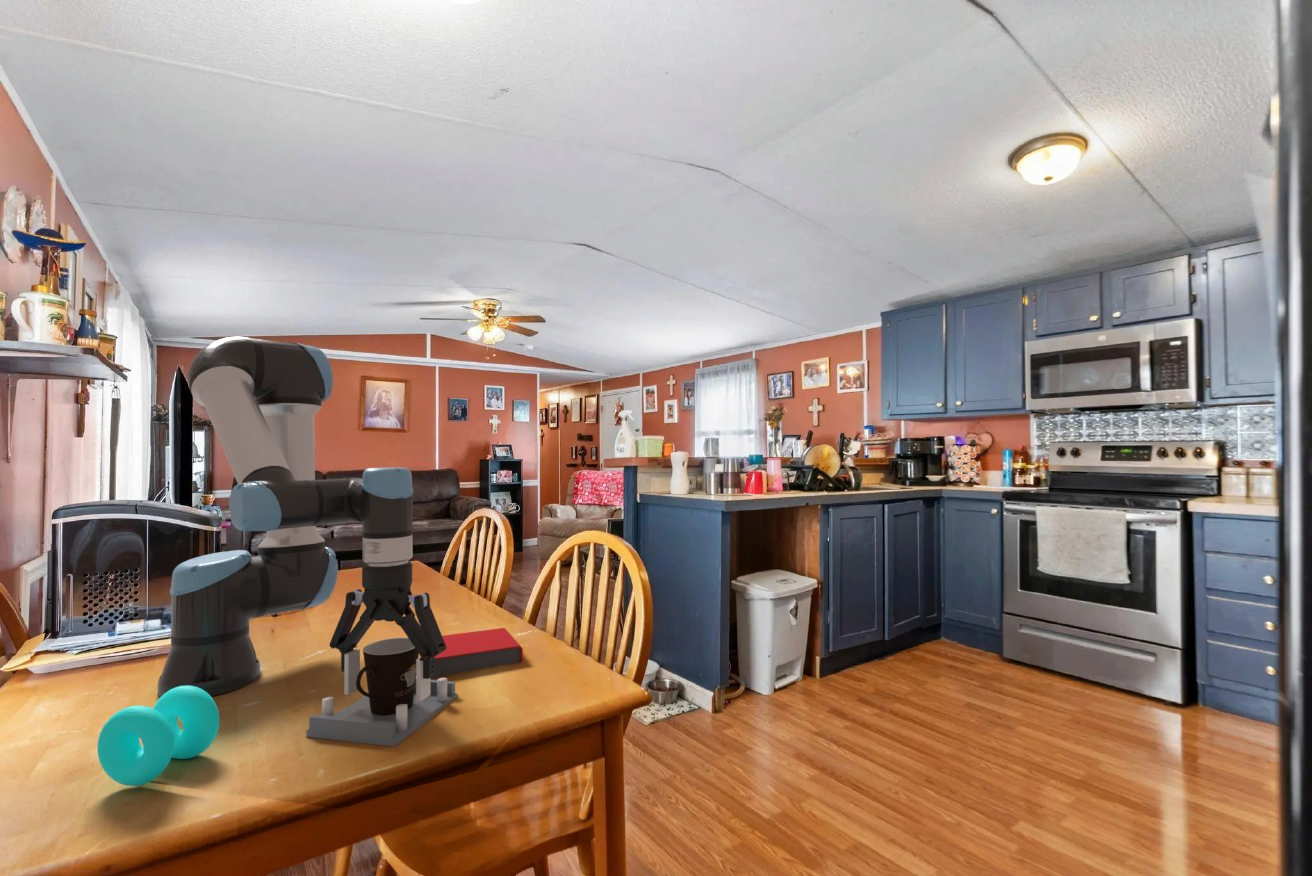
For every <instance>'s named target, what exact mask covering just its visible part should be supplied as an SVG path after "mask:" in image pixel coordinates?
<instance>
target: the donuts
mask: <svg viewBox="0 0 1312 876" xmlns="http://www.w3.org/2000/svg"><path fill="white" fill-rule="evenodd" d="M219 712H220V711H219V708H218V705H217V704H216V702H215V700H214V699H213V696H210V695H209V694H208V693H207V692H206V691H204V690H202V689H200V688H198V687H195V686H179V687H176V688H173V689H171V690H169V691H168V692H166V693H165V694H163V695H162V696H161V697H160V696H159V698H158V700H157V701H156V702H155V704H154V706H153V707H149V706H146V705H131V706H127V707H124V708H123V709H121V710H118V711H117V712H115V713H114V714H112V716H110V717H109V718H108V720H107V721H106V722H105V723H104V725H103V726H102V728H101V730H100V732H99V736H98V740H97V748H96V749H97V757H98V761H99V763H100V766H101V768H102V770H104V772H105V774H106V775H107V776H108V777H109V778H110V779H111V780H113V781H115V782H116V783H118V784H121V785H124V786H127V787H128V786H131V787H132V786H133V787H135V786H136V787H137V786H141V785H145V784H147V783H150V782H152V781H154V780H155V779H157V778H158V777H159V776H160V775H161V774H162V773H163V772H164V771H165V769H166V768H167V767H168V765H169V764H170V761H171V759H172V758H173V759H178V760H188V759H193V758H195V757H197V756H199V755H200V754H202V753H204V752H205V751H206V750H207V749H209V748H210V747H211V746H212V745H213V742H214V741H215V740H216V737H217V735H218V733H219V728H220V713H219ZM178 720H179V721H181V724H182V729H181V728H180V726H179V723H178ZM140 740H141V742H140ZM141 743H142V744H141Z"/></svg>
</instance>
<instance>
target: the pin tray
mask: <svg viewBox="0 0 1312 876" xmlns="http://www.w3.org/2000/svg"><path fill="white" fill-rule="evenodd" d="M458 696H459V694H458V693H457V692H456V681H452V680H451V681H449V680H448V678H447V677H439V678H438V679H430V696H428V697H427V698H425V699H424V700H422V701H421V702H420V701H416V682H415V690H414V699H413V705H412V707H411V708H409V709H408V710H407V704H399V705H397V706H396V714H394V715H386V716H381V715H375V714H373V713H371V709H370V701H369V697H367V696H363V697H361V698H360V699H358V700H357V701H355V702H353V703H351V704H350V705H348V706H346V707H344V708H342V709H341V710H339V711H337V712H336V713H334V712H335V711H334V704H335V703H334V702H335V701H334V698H335V697H333V696H328V697H327V696H326V697H323V698H322V700H321V714H312V715H311V716H309V717H308V719H309V721H308V722H309V723H308V725H309V726H308V728H307V729H306V732H305V734H306V735H305V736H306V738H313V739H324V740H330V741H331V740H332V741H340V742H349V743H356V744H357V743H359V744H366V745H367V744H368V745H376V746H385V747H393V748H394V747H396V746H397V745H399V744H400V743H401V742H403V741H404V740H405V739H406V738H408V737H409V736H411V734H413V733H414V732H416V731H417V730H418V729H420V728H422V726H423V725H425V724H426V723H427V722H429V720H431V719H432V718H433V717H434V716H436V715H437V714H438V713H440V712H441V710H443V709H444V708H445V707H446V706H448V705H449V704H450V703H451V702H452V701H454V700H455V699H456V698H457V697H458ZM453 699H454V700H453Z"/></svg>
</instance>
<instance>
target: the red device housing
mask: <svg viewBox="0 0 1312 876" xmlns="http://www.w3.org/2000/svg"><path fill="white" fill-rule="evenodd" d="M442 637H443V639H444V642H445V644H446V650H445V651H443V652H442V653H440V654H438V655H436V656H435V673H434V676H432V677H431V678H430V679H432V678H438V677H443V675H444V676H447V675H446V674H450V675H453V674H460V673H465V672H466V673H467V672H470V671H476V670H482V669H488V668H493V667H498V666H499V665H500V666H505V665H510V664H517V663H521V664H522V663H523V662H524V660H523V655H524V652H523V651H524V650H523V647H522V645H520V644H519V641H517V640H516V639H515V638H514V636H513V635H512V634H511V633H510V632H509V631H508V629H506V628H505V627H499V628H490V629H485V630H476V631H470V632H469V631H468V632H461V633H453V634H447V635H446V634H445V635H442ZM420 657H421V656H420V655H419V658H420ZM516 662H517V663H516ZM437 676H438V677H437Z"/></svg>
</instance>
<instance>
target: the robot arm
mask: <svg viewBox="0 0 1312 876" xmlns="http://www.w3.org/2000/svg"><path fill="white" fill-rule="evenodd" d="M187 372H188V373H187V384H188V389H189V391H190V393H191V395H192V398H193V399H194V401H195V402H196V403H197V404H198V405H200V406H202V407H204V408H205V410H206V413H207V416H208V418H209V420H210V422H211V424H212V427H213V430H214V432H215V434H216V437H217V439H218V441H219V443H220V445H221V448H222V450H223V452H224V455H225V457H226V460H227V462H228V464H229V466H230V469H231V471H232V473H233V476H234V478H235V481H236V482H237V484H236V485H234V487H233V488H232V490H231V492H230V495H229V502H228V509H229V513H230V515H229V516H230V520H231V523H232V525H233V527H235V528H236V530H238V531H241V532H266V537H265V538H264V539H263V540H262V541H261V542H260V543H259V544H258V545H257V553H258V554H257V555H256V556H252V555H251V554H250V552H249V551H248V550H245V549H233V550H229V551H220V552H215V553H214V552H212V553H209V554H204V555H201V556H197V557H193V558H190V559H187V560H186V561H183V562H181V563H179V564H178V565H176V567H175V568H174V569H173V571H172V576H171V584H170V585H171V586H170V590H169V595H170V597H171V598H170V648H169V652H168V654H167V656H166V657H167V658H166V660H165V662H164V666H163V670H162V672H161V675H160V676H159V678H158V680H157V696H158V697H159V698H160V697H161V696H162V695H163V694H165V693H166V692H168V691H169V690H171V689H173V688H176V687H179V686H195V687H198V688H200V689H202V690H204V691H206V692H207V693H208V694H209V695H210V696H211V697H213V696H214V697H215V696H217V695H218V696H219V695H222V694H226V693H230V692H233V691H235V690H239V689H242V688H244V687H246V686H249V685H251V684H252V683H254V682H255V681H256V680H258V678H259V677H260V676H261V662H260V660H259V659H258V658H257V654H256V650H255V648H254V645H253V642H252V639H251V637H250V622H251V620H252V619H256V618H263V617H268V616H273V615H277V614H282V613H287V612H292V611H293V612H294V611H296V610H297V611H303V610H306V609H309V608H312V607H316V606H319V605H322V604H325V602H327V600H329V599H330V597H331V596H332V594H333V593H334V590H335V587H336V585H337V581H338V574H339V564H338V559H336V557H337V555H336V552H335V551H334V550H333V549H332V548H331V547H327V546H326V541H325V538H323V537H322V536H321V535H320V534H319V533H318V532H317V526H327V525H329V526H330V525H336V524H338V525H341V524H349V523H359V524H360V523H361V526H362V527H361V528H362V533H361V534H362V535H361V536H362V554H361V555H362V558H361V559H362V562H364V563H365V564H363V566H362V568H361V570H362V573H361V586H362V588H363V589H364V591H362V589H360V588H359V589H354V590H352V591H349V592H347V593H346V595H345V605H344V607H343V609H342V612H341V616H340V618H339V620H338V622H337V624H336V628H335V630H334V632H333V635H332V637H331V639H330V642H329V647H330V648H331V649H337V650H338V652H340V655H341V656H340V661H341V662H340V670H341V672H342V673H343V675H344V681H343V682H344V689H343V690H344V695H345V696H347V695H348V696H350V695H351V694H352V693H354V692H356V691H358V689H357V687H356V680H357V676H358V674H359V672H360V671H361V649H359V648H358V643H359V642H360V641H361V640H362V638H363V637H364V636H365V634H366V633H367V632H368V630H369V629H370V627H372V625H373V623H374V622H375V621H376V622H380V621H386V622H394V623H395V624H396V625H397V626H400V628H401V629H402V631H403V632H404V633H405V636H406V638H409V640H410V641H411V643H412V644H413V646H414V647H415V649H416V650H417V651H418V653H419V657H418V659H417V660H416V701H420V702H421V701H422V700H424V699H425V698H427V697H428V696H430V680H431V679H432V678H431V677H432V676H434V673H435V656H436V655H438V654H440V653H442V652H443V651H445V650H446V644H445V642H444V639H443V637H442V636H443V635H442V632H441V630H440V628H439V627H440V626H439V625H438V623H437V619H436V617H435V615H434V612H433V610H432V608H431V600H430V594H429V593H428V592H423V593H420V594H413V593H412V590H411V589H412V583H413V562H412V561H410V560H411V559H412V558H413V556H414V555H413V553H414V551H413V550H414V549H413V519H414V518H413V515H414V513H413V512H414V511H413V509H414V508H413V507H414V487H413V477H412V476H413V474H412V472H411V470H410V469H409V468H407V467H367V468H365V470H364V471H363V473H362V477H361V478H359V477H355V476H352V477H342V478H333V479H332V478H331V479H316V471H315V469H316V467H315V466H316V465H315V463H316V462H315V430H314V429H315V428H314V426H315V425H314V424H315V423H314V422H315V421H314V417H315V415H316V414H317V413H318V412H319V411H321V410H322V403H323V402H326V401H327V400H329V398H330V397H331V394H332V389H333V387H334V376H333V375H334V374H333V370H332V367H331V363H330V360H329V359H328V357H327V355H325V353H324V351H322V350H321V349H320V348H318V347H316V346H313V345H312V346H311V345H305V344H302V343H299V342H289V341H288V342H286V341H277V340H270V339H261V338H250V337H246V336H230V337H229V336H228V337H224V338H223V337H222V338H220V339H217V340H215V341H212V342H211V343H208V344H207V345H206V346H204V347H203V348H202V349H201V350H200V351H199V352H197V354H196V355H195V356H194V357H193V359H192V361H191V362H190V366H189V368H188V371H187ZM362 604H364V606H365V609H364V611H363V612H362V613H361V615H360V616H359V620H358V621H357V622H356V624H355V621H356V619H357V616H358V615H359V611H360V609H361V606H362ZM412 608H413V609H414V610H412ZM415 617H416V618H417V619H416V618H415ZM354 624H355V626H354ZM353 626H354V627H353ZM420 656H421V657H420Z"/></svg>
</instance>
